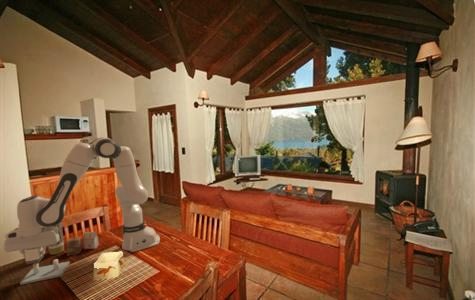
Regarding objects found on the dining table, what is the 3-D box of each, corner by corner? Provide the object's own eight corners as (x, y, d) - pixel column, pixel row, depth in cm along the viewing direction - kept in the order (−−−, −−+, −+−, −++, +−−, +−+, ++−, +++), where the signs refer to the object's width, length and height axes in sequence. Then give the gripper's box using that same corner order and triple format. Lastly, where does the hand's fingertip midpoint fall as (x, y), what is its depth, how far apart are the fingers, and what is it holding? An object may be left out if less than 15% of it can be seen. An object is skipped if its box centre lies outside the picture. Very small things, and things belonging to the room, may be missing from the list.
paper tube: (55, 255, 124) (51, 214, 122) (46, 254, 125) (42, 214, 123) (67, 249, 131) (63, 210, 128) (58, 248, 132) (54, 209, 130)
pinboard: (69, 263, 117) (68, 252, 116) (61, 276, 107) (60, 264, 106) (32, 270, 111) (31, 259, 110) (20, 285, 101) (19, 272, 100)
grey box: (87, 245, 135) (86, 230, 134) (98, 245, 135) (97, 230, 134) (83, 249, 131) (82, 233, 130) (95, 248, 131) (93, 233, 130)
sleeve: (43, 256, 110) (42, 243, 109) (39, 261, 105) (37, 248, 105) (31, 258, 108) (30, 245, 107) (26, 264, 103) (24, 250, 103)
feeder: (81, 249, 131) (80, 236, 130) (79, 253, 127) (78, 240, 126) (69, 251, 129) (68, 238, 128) (66, 255, 124) (65, 242, 124)
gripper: (60, 222, 112) (62, 247, 113) (8, 230, 104) (11, 256, 106) (55, 228, 106) (57, 254, 107) (0, 236, 98) (3, 264, 100)
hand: (34, 255), depth 106 cm, fingers closed on sleeve, 5 cm apart
